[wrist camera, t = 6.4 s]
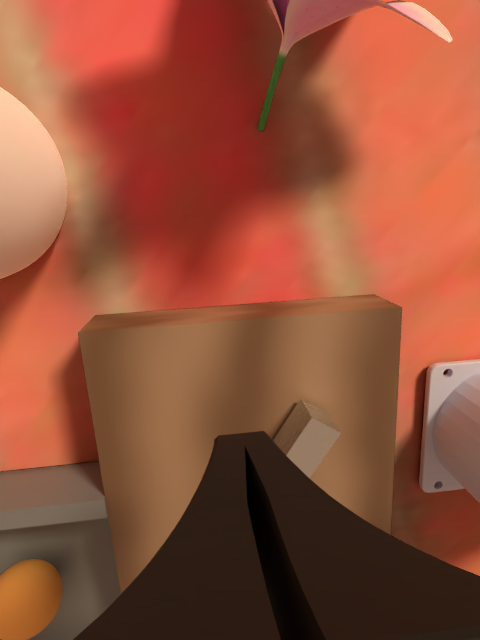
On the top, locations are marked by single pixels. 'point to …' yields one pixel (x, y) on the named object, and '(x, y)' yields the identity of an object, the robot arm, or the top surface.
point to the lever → (307, 436)
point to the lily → (323, 10)
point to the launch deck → (236, 402)
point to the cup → (27, 187)
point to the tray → (62, 538)
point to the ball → (28, 598)
